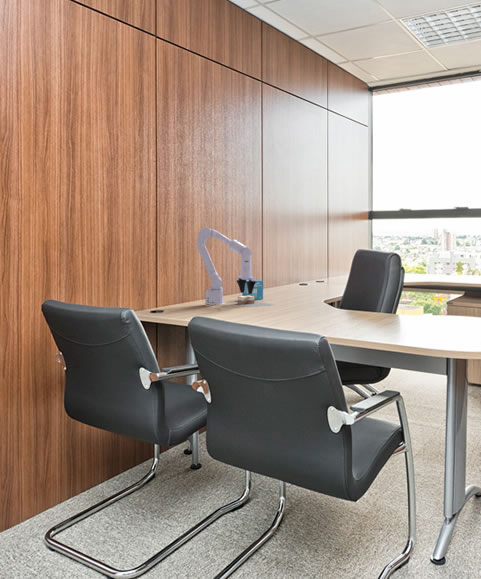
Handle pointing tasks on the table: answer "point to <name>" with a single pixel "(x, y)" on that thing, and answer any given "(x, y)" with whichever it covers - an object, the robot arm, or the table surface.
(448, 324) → the table surface
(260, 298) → the data package
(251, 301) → the metal box
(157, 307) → the table surface
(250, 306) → the desk mat
